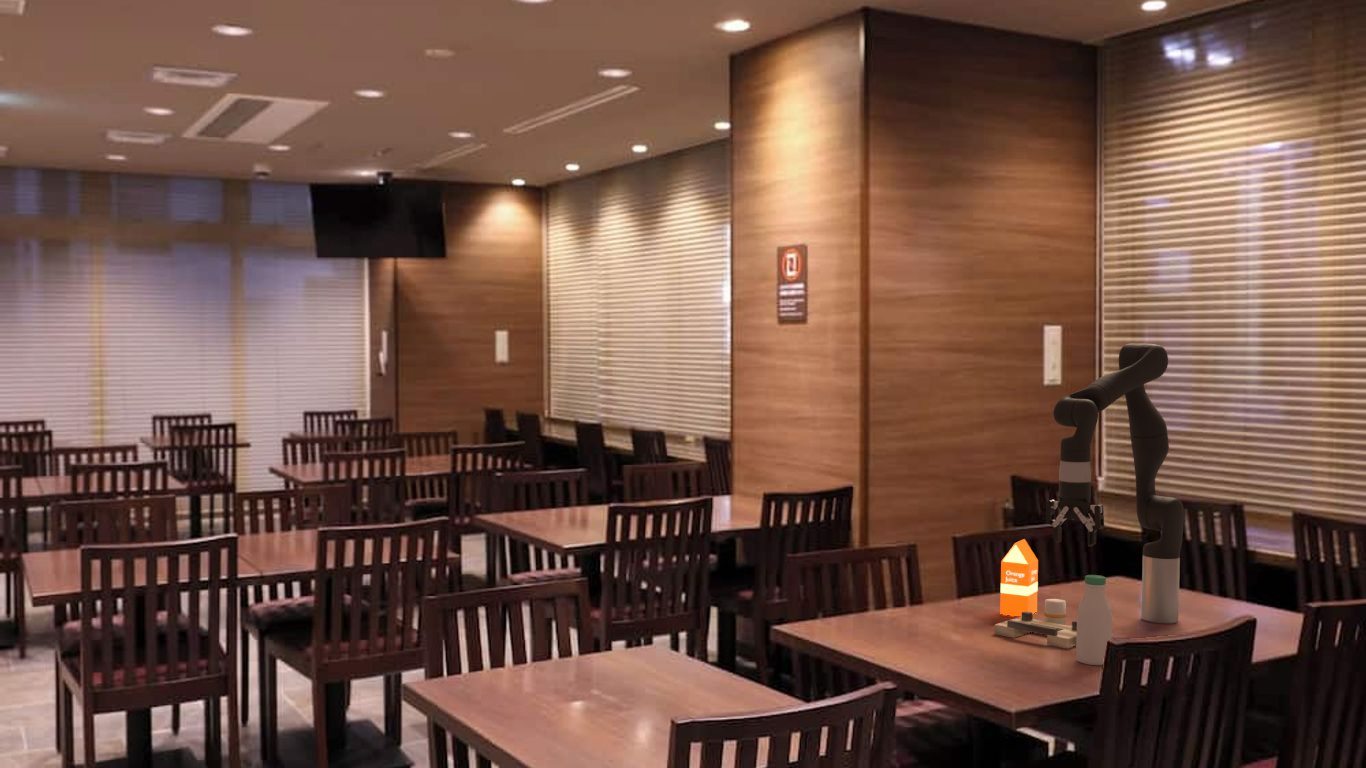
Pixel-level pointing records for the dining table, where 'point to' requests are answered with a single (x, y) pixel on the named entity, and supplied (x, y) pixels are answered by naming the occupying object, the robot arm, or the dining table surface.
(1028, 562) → the orange juice
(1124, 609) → the dining table surface
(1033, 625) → the shelf board
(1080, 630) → the milk bottle
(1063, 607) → the orange-banded white cylinder
